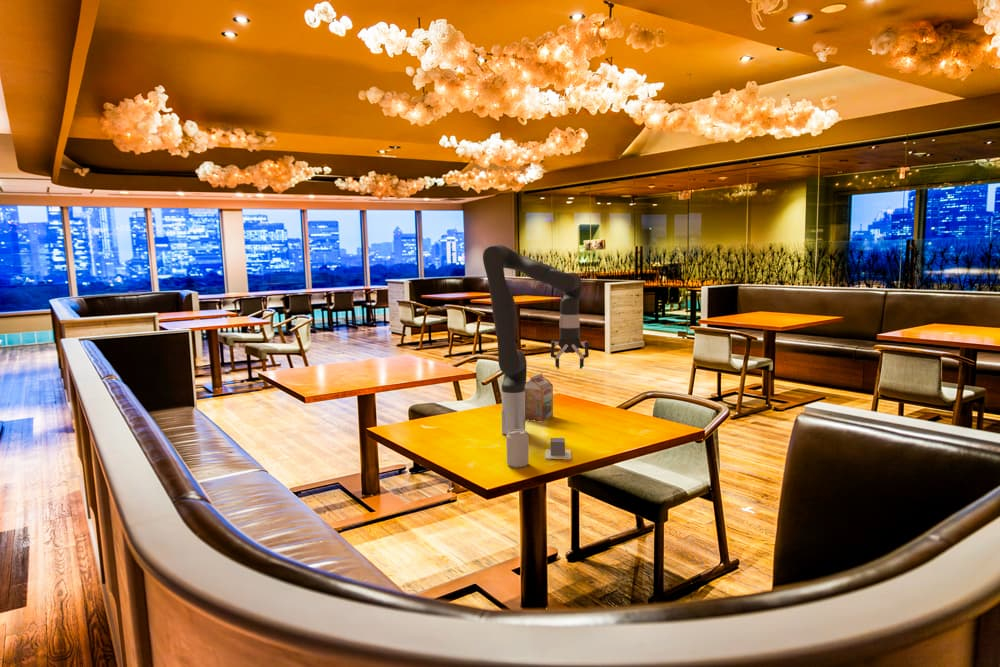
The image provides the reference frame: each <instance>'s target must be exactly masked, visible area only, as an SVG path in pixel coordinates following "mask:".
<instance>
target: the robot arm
mask: <svg viewBox="0 0 1000 667" xmlns="http://www.w3.org/2000/svg"><path fill="white" fill-rule="evenodd" d="M482 253H483V254H482V262H483V266H484V267H483V268H484V270H485V273H486V277H487V282H488V289H489V295H490V303H491V309H492V318H493V322H494V327H495V329H494V330H495V336H496V339H497V340H496V341H497V359H498V360H497V361H498V368H499V370H500V371H501V373H502V374H504V378H503V381H502V383H501V434H502V435H505V436H507V434H508V431H509V430H512V429H523V430H525V431H526V420H525V384H526V382H527V370H528V369H527V367H528V366H527V359H526V358H527V357H526V355H525V353H523V351H521V350H518V349H517V344H516V330H517V324H518V323H517V321H518V316H517V308H516V302H515V298H514V296H513V294H512V291H511V290H510V288H509V286H508V284H507V281H506V278H505V270H504V269H509V270H514V271H516V272H520V273H522V274H524V275H525V276H527V277H528V278H530V279H532V280H534V281H538V282H540V283H542V284H546V285H549V286H550V287H552V288H554V289H555V290H558V291H560V292H563V295H562V296H563V298H562V299H561V300H560V303H559V313H560V314H559V324H558V325H559V340H558V341H554V340H551V342H550V343H551V344H550V357H551V358H552V359H553V358H554V359H555V368H556V369H560V357H561V356H562V355H563V353H565V354H574V353H576V354H577V355H578V356H579V369H580V370H582V369H583V368H584V363H585V362H584V360H585V359H587V358H589V356H590V355H589V354H590V353H589V342H588V341H587V340H585V341H580V338H581V337H580V335H581V334H580V329H581V328H580V325H581V324H580V323H581V322H580V321H581V320H580V298H581V294H582V293H581V292H582V279H581V277H580V276H579V274H578V273H576V272H565V271H564V272H563V271H561V270H559V269H558V268H556V267H554V266H553V265H550V264H546V263H544V262H541V261H538V260H535V259H532V258H528V257H527V256H524V255H522V254H519V253H518V252H516V251H514V250H512V249H511V248H509V247H507V246H505V245H502V244H494V245H493V244H492V245H489V246H487V247H486V248H484V250H483V252H482ZM581 345H582V347H583V348H584V354H583V353H582V352H581V350H580V349H579V348H580V346H581ZM557 346H559V347H560V349H559V351H558V352H557V354H555V348H557Z"/></svg>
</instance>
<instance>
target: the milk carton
mask: <svg viewBox="0 0 1000 667" xmlns="http://www.w3.org/2000/svg"><path fill="white" fill-rule="evenodd" d="M552 416H553V417H554V385H553V383H552V382H551V381H550V380H548V379H547V378H546V377H544V376H543V372H541V373H538V374H535V375H532V376H530V378H529V380H528V381H526V384H525V419H529V420H528V421H531V420H535V421H534V422H538V421H541V423H543V422H545V421H547V420H549V419H551V418H553V417H552ZM550 417H551V418H550ZM548 418H549V419H548ZM546 419H547V420H546ZM544 420H545V421H544ZM542 421H543V422H542Z"/></svg>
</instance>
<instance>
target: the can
mask: <svg viewBox="0 0 1000 667" xmlns="http://www.w3.org/2000/svg"><path fill="white" fill-rule="evenodd" d="M505 436H506V437H505V438H506V440H505V442H506V463H507V465H508V466H509V467H511V468H516V469H517V468H518V469H519V468H524V467H526V466H527V465H528V464H529V463H530V462H529V452H530V451H529V450H530V449H529V434H527V430H526V429H525V430H523V429H512V430H509V431H508V434H507V435H505Z"/></svg>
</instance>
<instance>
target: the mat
mask: <svg viewBox="0 0 1000 667" xmlns="http://www.w3.org/2000/svg"><path fill="white" fill-rule="evenodd" d="M544 451H545V452H544V453H545V454H544V455H545V456H544V458H545V459H547V460H546V461H548V460H549V459H564V460H563V461H569V460H570V461H572V453H571V449H565V456H551V449H545V450H544ZM566 459H567V460H566ZM549 461H550V460H549Z"/></svg>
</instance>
